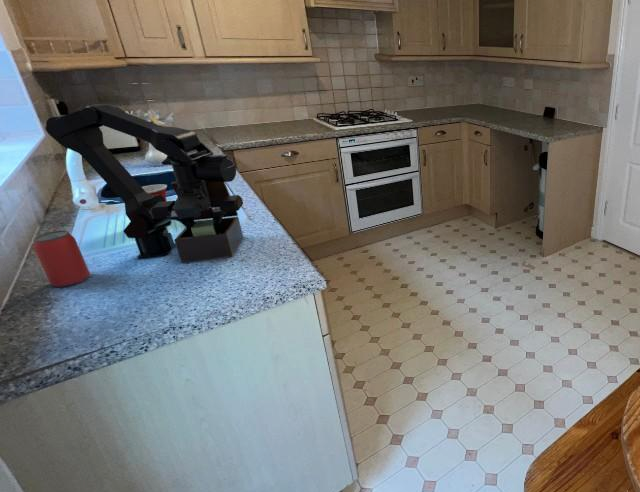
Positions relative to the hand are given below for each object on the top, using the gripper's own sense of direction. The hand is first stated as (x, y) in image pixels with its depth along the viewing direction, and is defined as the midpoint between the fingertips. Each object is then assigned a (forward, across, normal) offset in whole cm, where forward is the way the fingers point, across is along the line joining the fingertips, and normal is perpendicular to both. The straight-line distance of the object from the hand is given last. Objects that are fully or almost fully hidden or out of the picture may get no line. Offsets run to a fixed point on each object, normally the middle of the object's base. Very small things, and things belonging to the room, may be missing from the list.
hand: (207, 235), depth 108 cm
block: (+1, 0, 0) cm, 1 cm away
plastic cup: (+5, -22, +27) cm, 35 cm away
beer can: (+5, -27, -6) cm, 28 cm away
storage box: (+5, 0, +2) cm, 5 cm away
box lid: (-8, 0, +6) cm, 10 cm away
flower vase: (+5, -48, +108) cm, 118 cm away
